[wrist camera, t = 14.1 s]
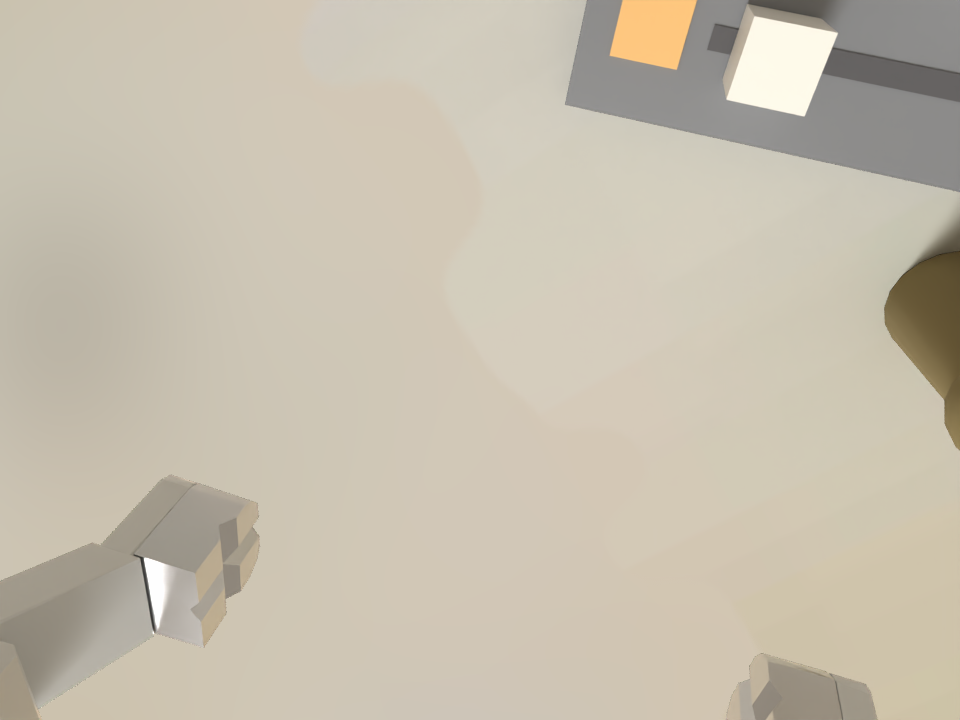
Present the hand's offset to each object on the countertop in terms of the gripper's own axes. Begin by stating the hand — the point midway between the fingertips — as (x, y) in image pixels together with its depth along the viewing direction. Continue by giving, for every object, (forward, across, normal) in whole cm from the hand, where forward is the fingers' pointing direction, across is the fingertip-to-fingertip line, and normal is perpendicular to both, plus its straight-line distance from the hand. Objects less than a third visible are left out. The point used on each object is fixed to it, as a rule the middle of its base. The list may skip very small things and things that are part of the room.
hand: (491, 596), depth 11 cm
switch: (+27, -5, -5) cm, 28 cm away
